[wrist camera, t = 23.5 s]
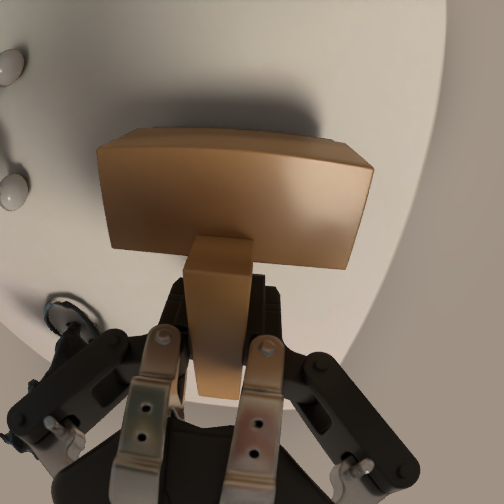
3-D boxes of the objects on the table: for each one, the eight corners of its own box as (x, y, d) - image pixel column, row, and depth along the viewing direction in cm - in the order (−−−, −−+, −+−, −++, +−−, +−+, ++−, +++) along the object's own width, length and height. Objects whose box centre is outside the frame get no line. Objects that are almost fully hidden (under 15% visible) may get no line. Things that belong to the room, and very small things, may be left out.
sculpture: (26, 302, 22) (-35, 411, 10) (84, 289, 20) (6, 446, 8) (70, 352, 27) (28, 456, 14) (134, 351, 25) (92, 490, 12)
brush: (149, 122, 12) (60, 168, 6) (337, 136, 12) (402, 193, 6) (164, 294, 18) (132, 384, 12) (299, 307, 18) (308, 403, 12)
